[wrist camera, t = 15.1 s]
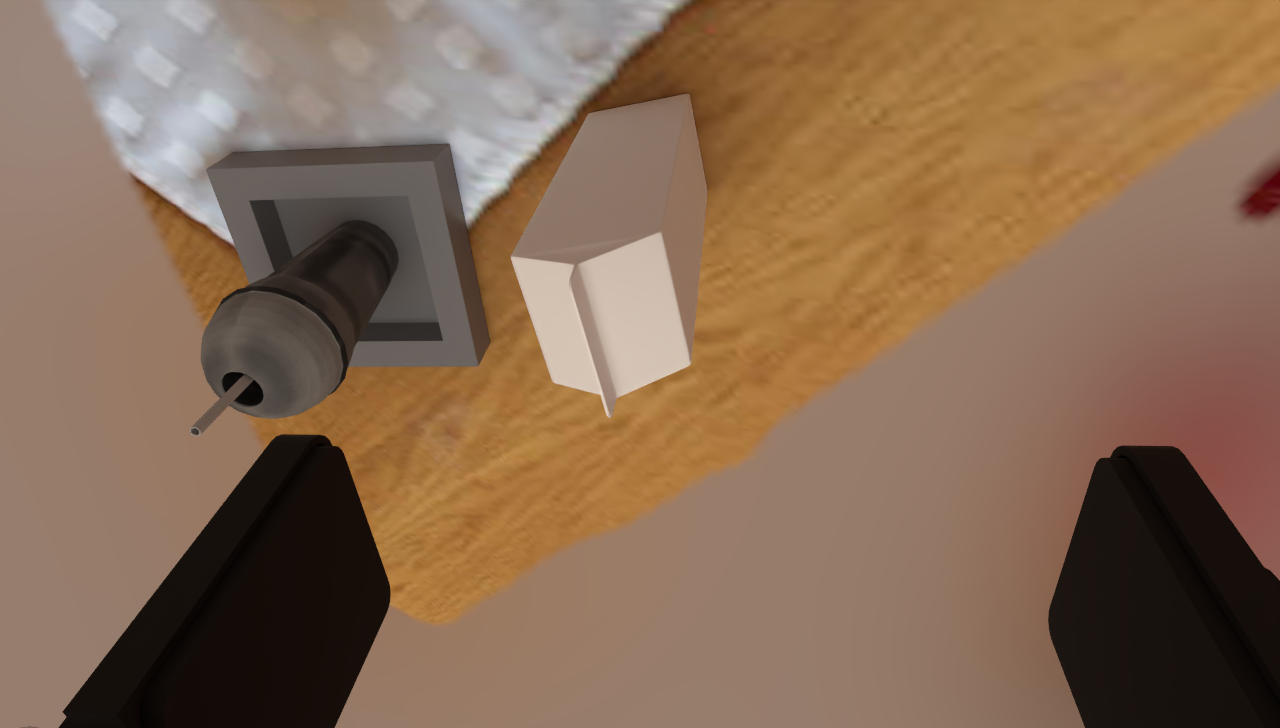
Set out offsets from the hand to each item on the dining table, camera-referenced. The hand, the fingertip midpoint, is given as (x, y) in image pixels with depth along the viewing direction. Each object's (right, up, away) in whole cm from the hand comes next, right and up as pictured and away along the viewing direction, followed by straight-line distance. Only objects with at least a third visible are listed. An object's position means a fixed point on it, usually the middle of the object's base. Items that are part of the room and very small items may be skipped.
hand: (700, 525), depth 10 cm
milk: (0, +15, +37) cm, 40 cm away
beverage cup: (-19, +9, +42) cm, 47 cm away
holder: (-19, +9, +42) cm, 47 cm away
